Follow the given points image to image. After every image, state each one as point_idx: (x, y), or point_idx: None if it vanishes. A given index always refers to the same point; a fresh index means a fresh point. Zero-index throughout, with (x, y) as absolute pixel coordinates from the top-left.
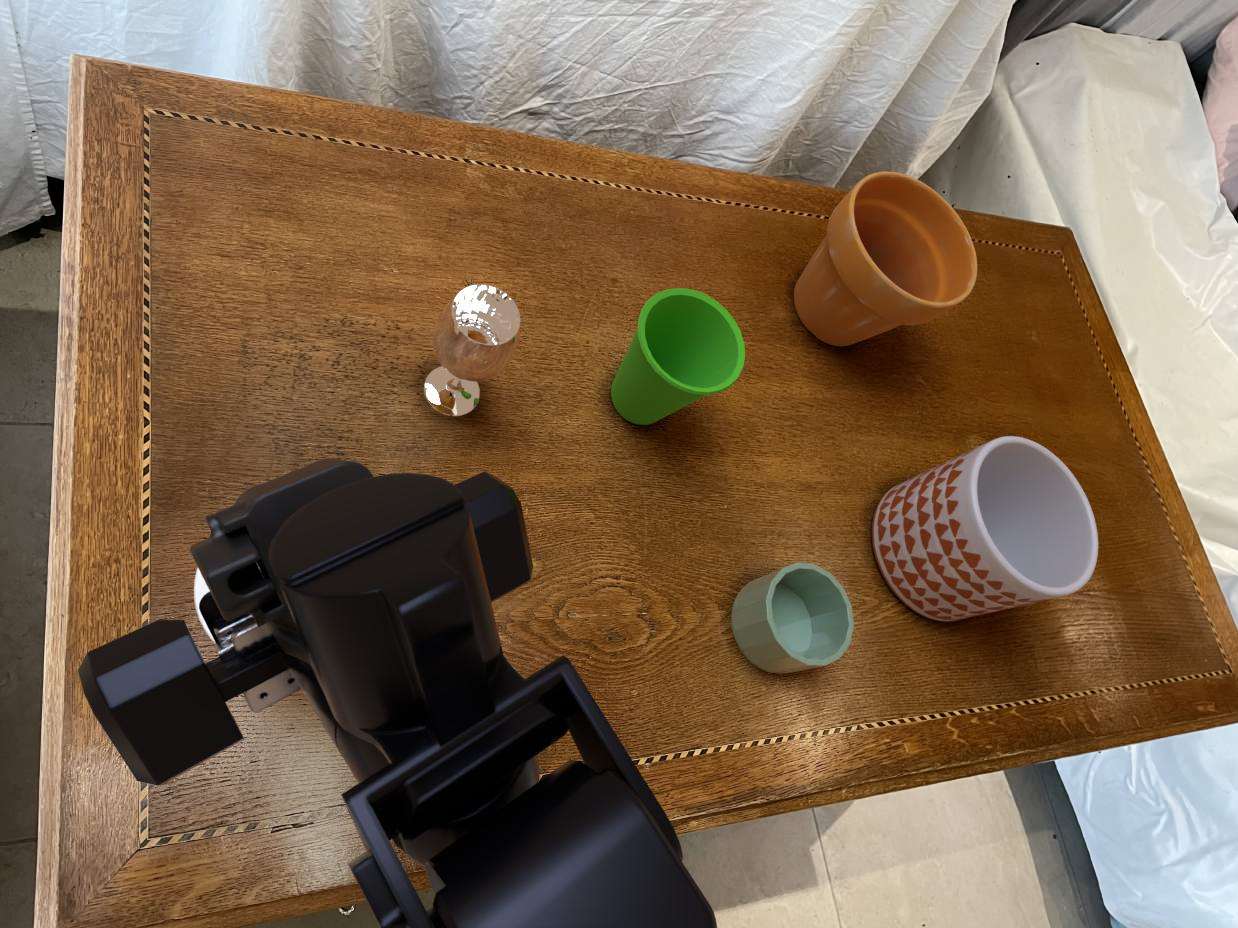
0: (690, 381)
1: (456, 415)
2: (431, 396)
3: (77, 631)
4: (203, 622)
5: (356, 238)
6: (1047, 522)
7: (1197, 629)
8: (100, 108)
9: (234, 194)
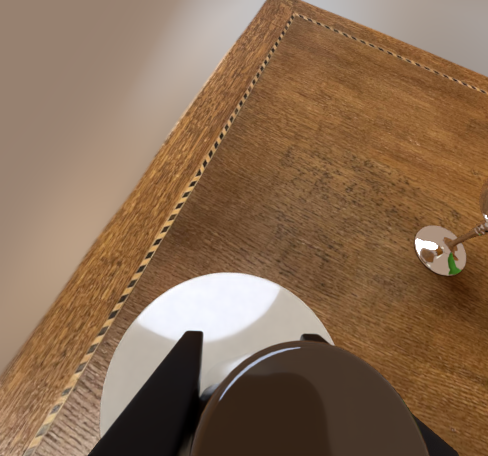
0: None
1: (439, 273)
2: (420, 246)
3: (55, 307)
4: (106, 389)
5: (395, 114)
6: None
7: None
8: (270, 6)
9: (324, 65)
